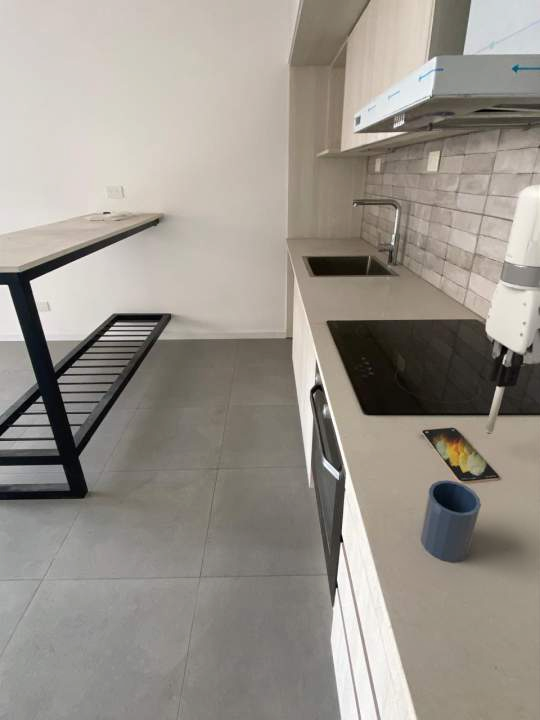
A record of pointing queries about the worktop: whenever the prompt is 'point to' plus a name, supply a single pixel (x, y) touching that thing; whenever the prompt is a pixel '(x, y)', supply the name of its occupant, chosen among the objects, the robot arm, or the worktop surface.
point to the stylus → (495, 407)
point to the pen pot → (449, 520)
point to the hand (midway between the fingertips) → (501, 382)
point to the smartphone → (459, 456)
